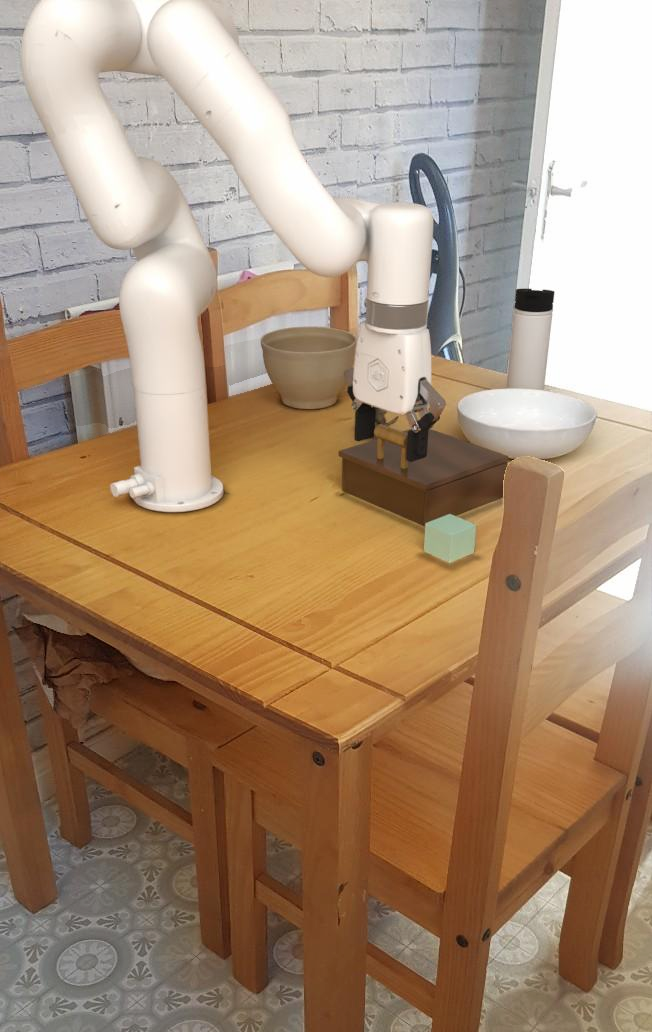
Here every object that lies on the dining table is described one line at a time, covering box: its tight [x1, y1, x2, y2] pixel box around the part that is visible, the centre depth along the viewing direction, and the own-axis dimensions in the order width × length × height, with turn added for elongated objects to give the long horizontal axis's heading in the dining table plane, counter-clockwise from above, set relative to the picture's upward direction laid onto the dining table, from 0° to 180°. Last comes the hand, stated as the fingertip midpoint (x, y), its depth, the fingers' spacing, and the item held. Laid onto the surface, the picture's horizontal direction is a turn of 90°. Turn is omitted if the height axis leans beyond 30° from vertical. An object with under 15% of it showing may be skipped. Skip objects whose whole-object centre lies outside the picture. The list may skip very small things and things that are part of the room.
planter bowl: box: [260, 325, 357, 410], centre depth 177 cm, size 16×16×11 cm
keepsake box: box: [341, 457, 509, 527], centre depth 142 cm, size 15×16×6 cm
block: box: [423, 514, 477, 564], centre depth 127 cm, size 4×4×4 cm
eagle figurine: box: [373, 407, 400, 440], centre depth 164 cm, size 8×7×9 cm
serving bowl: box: [456, 388, 598, 460], centre depth 158 cm, size 21×21×7 cm
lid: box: [338, 424, 509, 491], centre depth 139 cm, size 16×16×5 cm
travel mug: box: [505, 288, 555, 391], centre depth 171 cm, size 6×7×20 cm
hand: (389, 448), depth 136 cm, fingers open, 9 cm apart
